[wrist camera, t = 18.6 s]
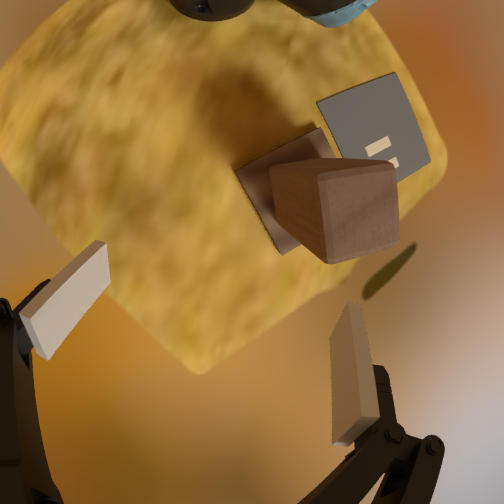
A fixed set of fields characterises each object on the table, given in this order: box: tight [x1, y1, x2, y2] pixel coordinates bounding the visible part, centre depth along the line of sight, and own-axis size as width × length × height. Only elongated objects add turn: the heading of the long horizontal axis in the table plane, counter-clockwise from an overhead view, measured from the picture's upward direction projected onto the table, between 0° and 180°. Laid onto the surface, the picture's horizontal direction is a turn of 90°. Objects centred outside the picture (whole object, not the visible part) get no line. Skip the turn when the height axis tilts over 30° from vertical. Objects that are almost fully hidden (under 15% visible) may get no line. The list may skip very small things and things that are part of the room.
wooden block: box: [269, 158, 400, 264], centre depth 38 cm, size 10×10×20 cm
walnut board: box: [235, 127, 335, 255], centre depth 48 cm, size 16×16×2 cm
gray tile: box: [317, 73, 431, 183], centre depth 48 cm, size 20×20×1 cm
